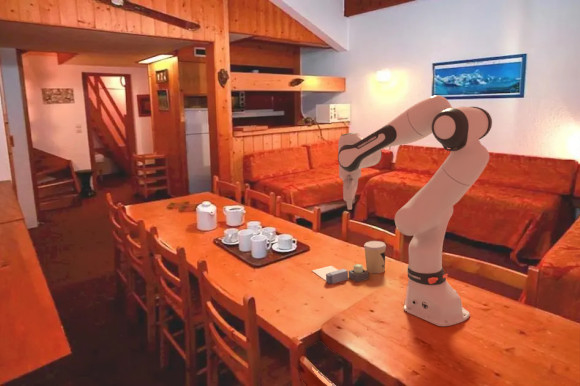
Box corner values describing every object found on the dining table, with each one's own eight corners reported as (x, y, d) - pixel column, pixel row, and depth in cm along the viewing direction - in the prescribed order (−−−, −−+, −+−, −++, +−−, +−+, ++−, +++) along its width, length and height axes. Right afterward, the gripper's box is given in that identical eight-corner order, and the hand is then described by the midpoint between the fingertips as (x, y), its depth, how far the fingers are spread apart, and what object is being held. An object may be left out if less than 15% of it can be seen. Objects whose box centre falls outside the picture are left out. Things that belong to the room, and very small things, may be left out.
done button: (364, 275, 169) (364, 266, 168) (357, 277, 168) (356, 268, 167) (359, 272, 173) (359, 263, 172) (352, 274, 171) (351, 265, 170)
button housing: (368, 278, 169) (368, 272, 168) (356, 282, 167) (356, 275, 166) (360, 274, 174) (360, 267, 174) (348, 277, 172) (348, 270, 171)
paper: (345, 274, 175) (345, 274, 175) (325, 280, 171) (325, 279, 171) (331, 266, 185) (331, 265, 185) (312, 271, 182) (312, 270, 181)
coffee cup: (386, 274, 172) (386, 247, 170) (364, 274, 174) (363, 247, 172) (386, 265, 181) (385, 240, 178) (365, 265, 183) (364, 240, 180)
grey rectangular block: (344, 277, 173) (344, 268, 172) (348, 279, 170) (347, 270, 169) (326, 282, 169) (325, 273, 168) (329, 284, 167) (329, 275, 166)
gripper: (355, 178, 151) (356, 213, 154) (359, 168, 170) (360, 200, 173) (338, 178, 153) (340, 213, 156) (345, 168, 172) (346, 200, 175)
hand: (351, 206), depth 165 cm, fingers open, 8 cm apart
